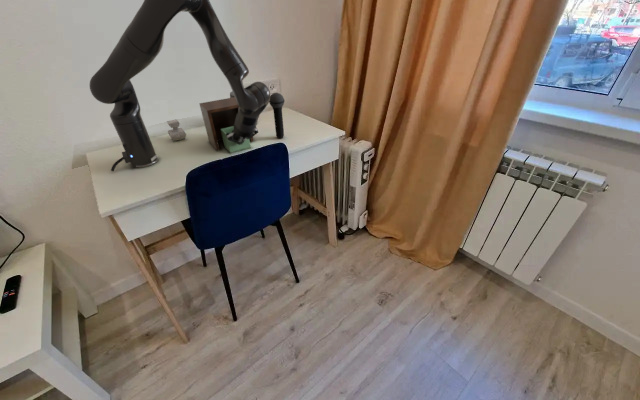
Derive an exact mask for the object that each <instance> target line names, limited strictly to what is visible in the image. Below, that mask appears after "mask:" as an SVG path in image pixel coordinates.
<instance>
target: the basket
mask: <svg viewBox="0 0 640 400" xmlns="http://www.w3.org/2000/svg"><path fill="white" fill-rule="evenodd" d="M233 130H234V126H232V127H227V128H223V129H221V134H222V138H223V140H222V142H223V146H224V148H225V149H226V150H227V151H228V152H229V154H234V153H237V152H240V151H244V150H248V149H252V147H251V141H250V140H249V139H246V140H245V141H244V143H243V144H241V145H239V144H237V142H232V141H229V140H228V138H227V136H226V134H227V133H229V134H230V133H232V131H233Z"/></svg>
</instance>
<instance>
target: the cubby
mask: <svg viewBox="0 0 640 400" xmlns="http://www.w3.org/2000/svg"><path fill="white" fill-rule="evenodd" d="M199 108H200V111H201V112H200V113H201V116H202V119H203V123H204V127H205V131H206V135H207V138H208V142H209V144H211V146H212V147H213V148H214V149H215V150H216V152H219V151H220V150H221V149H220V146H219V142H218V141H223V138H222V134H221V129H223V128H227V127H232V126H234V122H235V118H236V115H237V113H238V109H239V106H238V104H237V102H236V99H235V97H233V98H230V97H227V98H222V99H217V100H216V99H215V100H211V101H210V100H209V101H206V102H200V103H199ZM249 140H250V143H253V142H254V141H255V140H254V136H253V137H251V138H250V139H249Z"/></svg>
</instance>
